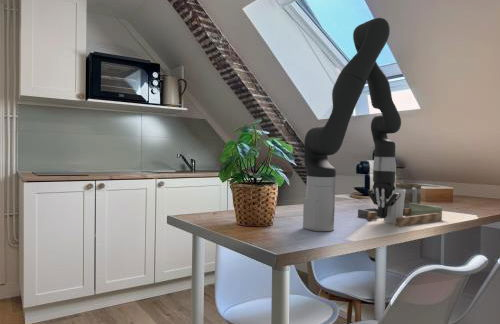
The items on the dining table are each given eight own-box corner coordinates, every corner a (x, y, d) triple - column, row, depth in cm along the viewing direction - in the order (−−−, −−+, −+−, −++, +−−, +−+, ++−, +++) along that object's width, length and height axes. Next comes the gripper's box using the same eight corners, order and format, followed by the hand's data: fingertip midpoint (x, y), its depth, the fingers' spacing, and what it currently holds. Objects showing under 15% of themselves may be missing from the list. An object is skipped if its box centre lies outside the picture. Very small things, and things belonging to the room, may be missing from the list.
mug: (392, 208, 168) (393, 182, 168) (416, 209, 167) (417, 183, 166) (400, 213, 153) (401, 185, 152) (428, 215, 151) (429, 186, 151)
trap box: (398, 226, 126) (399, 212, 126) (353, 216, 143) (353, 204, 143) (441, 220, 140) (442, 207, 140) (395, 212, 157) (395, 200, 157)
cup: (406, 224, 130) (407, 191, 130) (383, 223, 131) (384, 190, 131) (402, 220, 138) (403, 188, 137) (379, 219, 139) (381, 187, 139)
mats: (374, 218, 139) (374, 218, 139) (362, 216, 144) (362, 216, 144) (404, 215, 149) (404, 214, 149) (392, 213, 154) (392, 212, 154)
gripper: (362, 168, 134) (361, 215, 135) (393, 170, 123) (391, 221, 124) (375, 168, 138) (374, 213, 139) (407, 170, 127) (405, 219, 128)
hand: (382, 217), depth 131 cm, fingers closed
